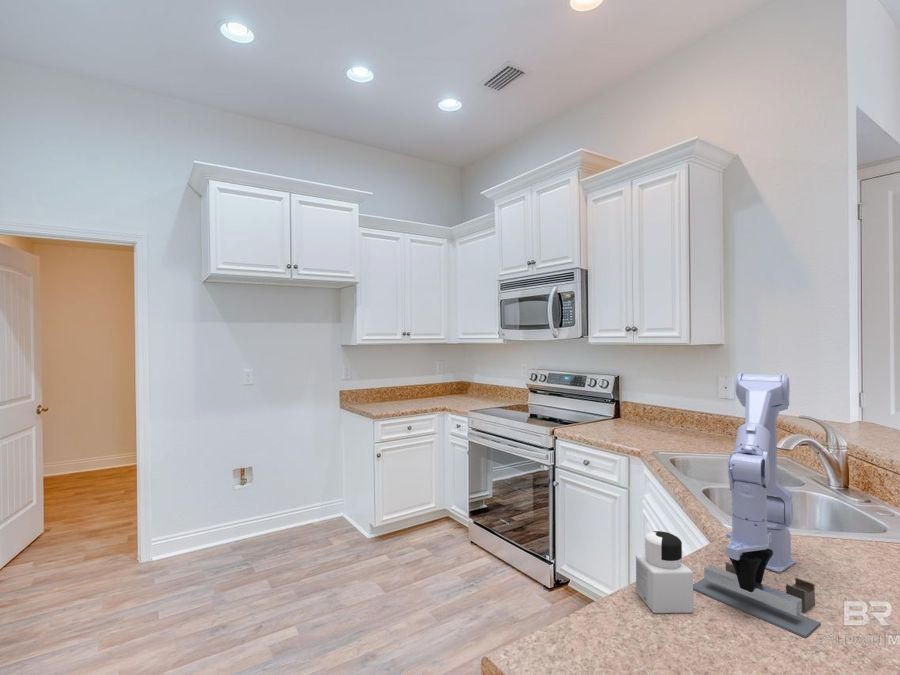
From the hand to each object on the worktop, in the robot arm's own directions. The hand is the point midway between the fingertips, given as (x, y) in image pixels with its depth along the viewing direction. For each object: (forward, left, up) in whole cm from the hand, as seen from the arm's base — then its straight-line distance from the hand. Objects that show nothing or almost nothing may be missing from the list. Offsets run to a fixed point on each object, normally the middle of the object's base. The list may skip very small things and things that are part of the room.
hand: (750, 587), depth 89 cm
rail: (0, 0, -1) cm, 1 cm away
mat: (0, 0, -3) cm, 3 cm away
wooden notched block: (-8, -6, -3) cm, 10 cm away
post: (-8, +5, -3) cm, 10 cm away
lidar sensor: (+13, -10, -4) cm, 17 cm away
